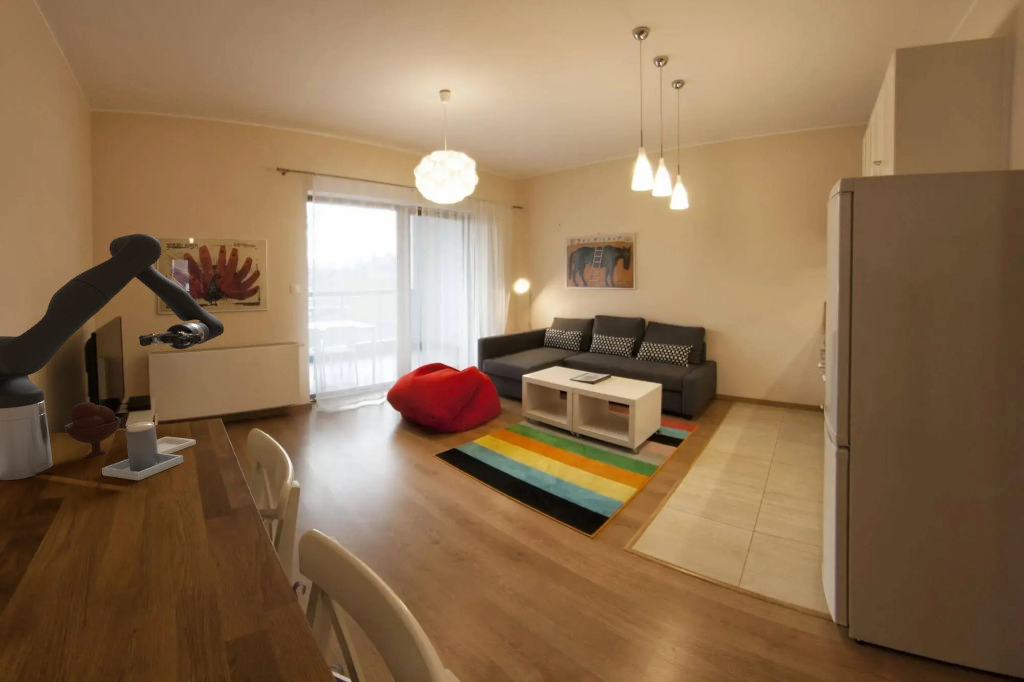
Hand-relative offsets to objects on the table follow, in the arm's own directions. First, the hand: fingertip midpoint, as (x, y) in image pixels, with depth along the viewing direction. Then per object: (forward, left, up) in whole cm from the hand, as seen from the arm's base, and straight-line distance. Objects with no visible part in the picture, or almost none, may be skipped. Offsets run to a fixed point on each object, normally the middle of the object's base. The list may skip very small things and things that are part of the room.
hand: (161, 342), depth 123 cm
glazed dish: (+10, -14, -30) cm, 35 cm away
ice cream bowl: (-12, -10, -30) cm, 34 cm away
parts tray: (+1, -3, -30) cm, 30 cm away
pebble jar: (+9, -14, -29) cm, 34 cm away
